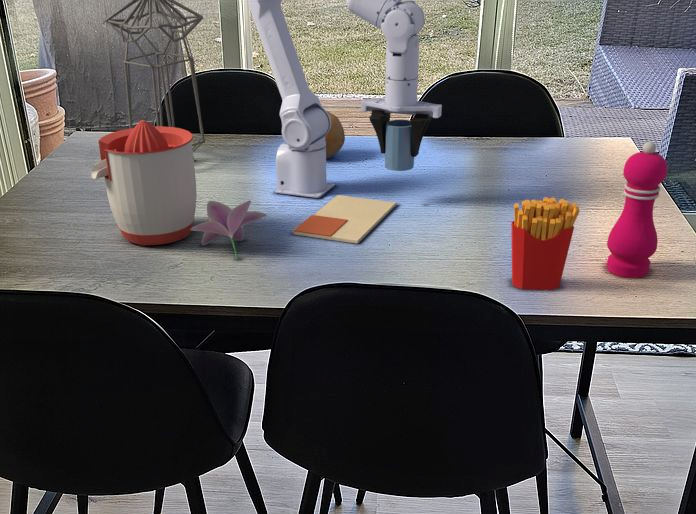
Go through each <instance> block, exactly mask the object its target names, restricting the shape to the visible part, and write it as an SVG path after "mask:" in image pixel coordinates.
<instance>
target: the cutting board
mask: <svg viewBox="0 0 696 514" xmlns="http://www.w3.org/2000/svg"><path fill="white" fill-rule="evenodd" d="M396 206H397V202H396V201H390V200H389V201H388V200H380V199H372V198H365V197H356V196H349V195H348V196H347V195H340V194H337V195H335V196H334V197H333V198H332V199H330V200H329V201H328V202H327V203H326V204H325V205H323V206H322V207H321V208H320V209H319V210H318V211H316V212H315V213H314V214H311V215H310V216H309V217H308V218H305V220H304V221H302V223H300V224H299V225H298V226H297V227H295V228H294V229H293V231H292V232H293V235H296V236H300V237H301V236H302V237H309V238H316V239H323V240H327V241H328V240H329V241H337V242H343V243H350V244H356V245H357V244H359V243H360V242H361V241H362V240H363V239H364V238H365V237H366V236H367V235H368V234H369V233H370V232H371V231H372V230H373V229H374V228H375V227H376V226H377V225H378V224H379V223H380V222H381V221H382V220H383V219H384V218H385V217H386V216H387V215H388V214H389V213H390V212H391V211H392V210H393V209H394V208H395V207H396Z"/></svg>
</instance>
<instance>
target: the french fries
mask: <svg viewBox="0 0 696 514" xmlns="http://www.w3.org/2000/svg"><path fill="white" fill-rule="evenodd" d="M556 199H557V198H556V197H551V198H549V197H546V196H543V199H542V200H539V199H538V200H537V199H531V200H530V199H524V200H522V201H521V209H520V205H519V203H513V216H514V219H513V220H512V221H511V222H510V224H511V228H510V229H511V230H510V231H511V232H510V233H511V235H510V236H511V237H510V238H511V283H512V286H513V287H514V288H517V289H520V290H527V291H528V290H529V291H553V290H555V289H558V288H560V286H561V282H562V277H563V273H564V269H565V266H566V261H567V258H568V253H569V251H570V246H571V241H572V238H573V233H574V229H575V226H574V225H575V222H576V220H577V219H578V216H579V214H580V212H581V210H580V207H579V206H578V203H576V202H572V203H570V201H567V200H566V199H564V198H560V199H559V200H558V201H557V200H556Z"/></svg>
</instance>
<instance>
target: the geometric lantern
mask: <svg viewBox="0 0 696 514" xmlns="http://www.w3.org/2000/svg"><path fill="white" fill-rule="evenodd" d="M170 3H171V4H170ZM134 4H136V5H135V6H134V7H133V9H132V10H131V11H130V13H129V14H128V15H127V16H126V18H115V17H117V16H119V14H121V13H122V12H124V11H125V10H128V8H130V7H132V6H133V5H134ZM172 4H173V5H175V6H177V7H178V8H180V9H182V10H185V11H186V12H189V13H190V14H191V15H186V16H184V15H183V14H182V13H180V11H178V10H177V9H176V8H175V7H174V6H173V5H172ZM153 6H154V11H153ZM146 7H147V12H145V9H146ZM163 7H164V8H165V10H167V11H168V12H169V13H167V12H165V10H164V9H163ZM175 13H176V14H177V15H176V14H175ZM153 14H155V19H156V24H157V26H153ZM158 15H159V16H160V17H161V18H162V19H163V20H164V21H165V22H166V23H162V24H161V23H160V22H159V16H158ZM145 17H146V19H145V21H144V23H143V25H140V22H141V20H142V19H143V18H145ZM168 17H169V18H172V19H174V20H175V25H174V24H173V23H171V21H170V20H169V18H168ZM190 19H191V20H190ZM131 20H132V21H131ZM182 20H183V21H184V22H182ZM188 20H189V21H188ZM203 20H204V16H203V15H202V14H200V13H199V12H196V11H194V10H192V9H191V8H189V7H188V6H185V4H182V3H180V2H178V1H177V0H130V1H129V2H128V3H126V4H124V5H123V6H122V7H120V8H119V9H118V10H116V11H115V12H114V13H112V14H111V15H109V16H108V17H106V18H105V19H103V20H102V24H103V25H104V24H105V23H106V24H107V25H108V26H110V28H112V30H114V32H116V33H117V34H118V35H119V36H120V37H121V38H122V39H121V40H122V42H123V43H125V54H124V60H122V63H123V67H124V78H125V90H126V103H127V113H128V125H129V126H128V127H129V129H130V128H133V112H132V111H133V110H132V91H131V90H132V88H131V71H130V69H131V68H130V65H134V66H140V67H145V68H151V77H152V88H153V98H154V109H155V121H156V126H163V127H164V120H163V106H162V105H163V104H162V91H163V97H164V105H165V110H166V118H167V125H168V127H175V128H176V125H175V115H174V108H173V99H172V92H171V83H170V74H169V73H170V72H169V67H168V66H173V65H177V64H180V63H185V62H189V68H190V76H191V80H192V87H193V93H194V100H195V105H196V111H197V116H198V123H199V131H200V135H199V134H193V133H191V134H192V135H193V138H195V139H198V140H197V141H196V142H192V149H193V153H194V152H195V151H196V150H198V149H199V148H200V146H202V145H203V144H205V143H206V139H205V133H204V127H203V121H202V114H201V107H200V106H201V105H200V98H199V89H198V81H197V75H196V67H195V59H194V56H193V53H192V49H191V46H190V43H189V40H188V35H189V34H190V33H191V32H192V31H193V30H194V29H195V28H196V27H197V26H198V25H199V24H200V23H201V22H202V21H203ZM130 21H131V24H130V25H129V22H130ZM135 23H136V26H135ZM178 24H179V25H178ZM188 25H189V26H188ZM187 26H188V27H187ZM165 28H168V30H170V33H169V32H167V30H165ZM150 29H158V30H160V31H161V32H162V33H163V34H165V36H167V37H168V40H167V42H166V44H165V47H164V49H163V51H162V52H161V51H159V50H158V49H157V48H156V46H155V45H154V44H153V42H152V41H151V40H150V39H149V38H148V37H147V35H146V34H147V33H148V32H149V31H150ZM132 30H136V31H132ZM124 32H125V33H126V36H125V35H124ZM176 32H177V33H179V34H181V36H179V37H176V38H175V37H174V35H175V33H176ZM133 35H138V36H136V37H135V38H134V37H133ZM142 37H144V38H145V39H146V41H148V43H149V44H150V45H151V46H152V48H153V49H154V50H155V51H156V52H150V53H145V52H144V51H143V49H142V47H141V46H140V45H139V43H138V41H139V40H140V39H141V38H142ZM179 41H182V42H183V45H184V48H185V52H186V55H184V54H180V53H179V54H177V53H170V52H169V51H170V49H171V46H172V45H173V43H176V42H179ZM130 43H134V45H135V46H136V47H137V49H138V50H139V52H140V53H141V55H138V56H133V57H129V44H130ZM153 55H155V64H152V62H151V61H150V59H149V58H148V56H153ZM159 56H163V57H162V59H161V61H160V60H159V58H160V57H159ZM167 56H175V57H182V58H187V59H182V60H178V61H173V62H169V63H168V57H167ZM128 57H129V58H128ZM140 58H144V59H145V61H146V62H147V64H145V63H137V62H132V61H131V60H137V59H140ZM163 63H164V64H163ZM164 67H165V68H164ZM155 69H156V76H155ZM164 69H165V74H166V75H165V74H164ZM165 77H166V81H165ZM156 78H157V79H156ZM156 80H157V83H156ZM161 83H162V84H161ZM156 84H157V85H156ZM166 84H167V85H166ZM161 85H162V88H161ZM166 87H167V88H166ZM167 93H168V94H167ZM168 101H169V102H168ZM193 159H194V160H195V158H194V156H193Z"/></svg>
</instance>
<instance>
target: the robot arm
mask: <svg viewBox="0 0 696 514" xmlns="http://www.w3.org/2000/svg"><path fill="white" fill-rule="evenodd" d="M344 1H345V3H346V6H347V9H348V11H349V12H350V13H351V14H354V15H355V16H357V17H359V18H361V19H362V20H363V21H365V22H367V23H369V24H370V25H372V26H374V27H376V28H378V29H379V30H381V32H382V34H383V36H384V37H385V39H386V47H385V76H384V77H385V79H384V80H385V81H384V83H385V84H384V85H385V86H384V98H364V99H362V100H361V101H360V112H361V113H367V112H370V113H371V114H370V116H369V122H370V123H371V125H372V127H373V129H374V133H375V134H376V138H377V140H378V144H379V147H380V148H379V149H380V154H383V155H385V138H386V122H388V121H391V115H392V114H397V115H408V116H414V117H413V118H411V119H410V121H411V126H412V150H411V154H412V157H414V158H416V157H418V155H419V154H420V147H421V144H422V141H423V137H424V135H425V132H426V130H427V128H428V126H429V124H430V123H431V121H432V119H439V118H441V116H442V109H443V105H442V104H437V103H431V102H427V101H426V102H425V101H422V100H421V101H420V100H418V87H419V85H418V84H419V68H420V67H419V64H420V34H419V33H421V31H422V30H423V28H424V25H425V21H426V17H425V12H424V11H423V9H422V7H421V6H420V5H419V4H417V2H416V1H414V0H403V1H402V0H344ZM282 2H283V0H247V3H248V8H249V11H250V14H251V17H252V19H253V22H254V25H255V28H256V30H257V33H258V36H259V38H260V41H261V44H262V48H263V50H264V52H265V55H266V58H267V61H268V63H269V64H268V65H269V66H270V69H271V72H272V75H273V78H274V80H275V83H276V87H277V89H278V92H279V94H280V97H281V100H282V102H281V106H280V109H279V117H280V120H281V135H282V138H283V141H284V142H285V143H281V144H280V145H279V146H278V148H277V151H276V155H275V177H276V189H275V190H274V191H275V193H276V194H283V195H290V196H296V197H297V196H298V197H304V198H305V197H306V198H313V199H320V198H321V197H322V196H324V195H325V194H326V193H327V192H329V191H330V190H331V189H332V188H334V186H335V184H334V183H332V182H327V159H326V141H325V135H326V134H327V133H328V132H329V130H330V127H331V119H330V116H329V114H328V112H329V111H328V110H326V109H325V108H324V107H323V105H322V103H321V101H320V97H318V96H317V95H316V94H315V93H314V92H313V91H311V90H310V87H309V84H308V82H307V79H306V75H305V72H304V70H303V67H302V64H301V61H300V58H299V56H298V53H297V49H296V46H295V44H294V42H293V39H292V35H291V32H290V29H289V27H288V24H287V21H286V18H285V15H284V12H283V10H282V9H283V8H282V6H281V5H282ZM327 111H328V112H327Z"/></svg>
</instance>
